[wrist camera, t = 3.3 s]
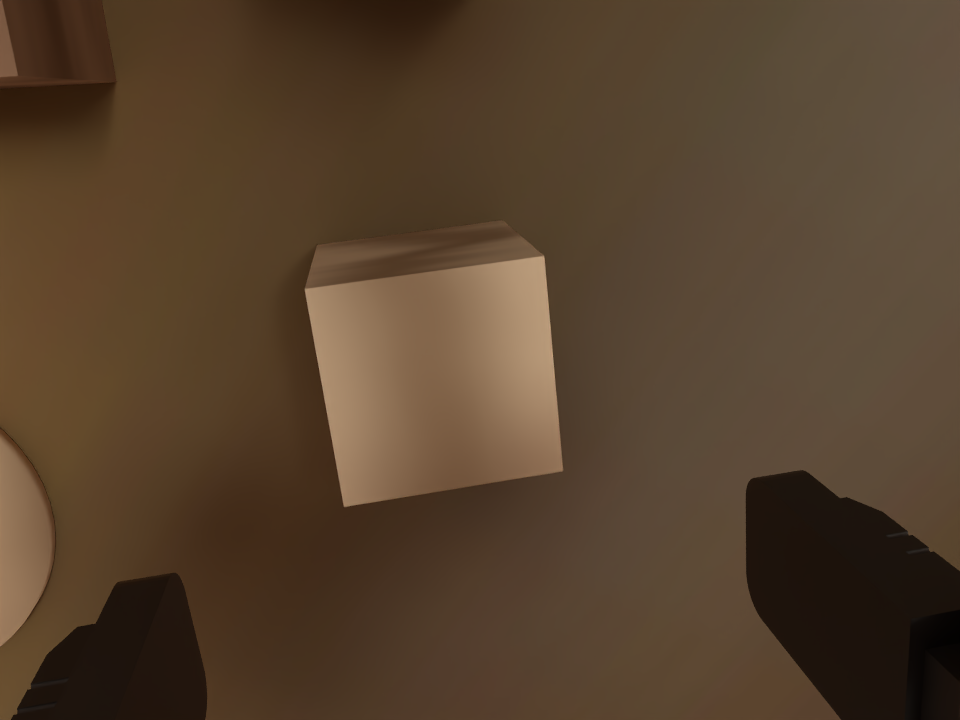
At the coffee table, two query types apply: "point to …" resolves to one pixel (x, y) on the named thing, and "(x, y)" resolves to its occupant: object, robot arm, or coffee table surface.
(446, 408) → the maple block
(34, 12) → the walnut block
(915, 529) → the coffee table surface
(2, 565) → the cork trivet
